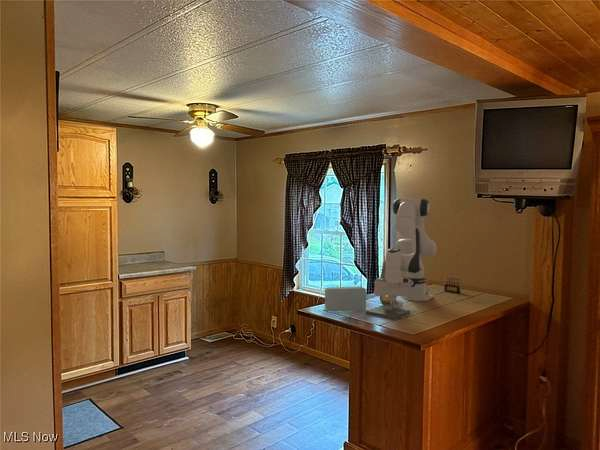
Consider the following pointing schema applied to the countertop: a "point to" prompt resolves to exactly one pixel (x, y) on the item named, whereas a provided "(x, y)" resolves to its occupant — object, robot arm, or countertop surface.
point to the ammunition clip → (452, 284)
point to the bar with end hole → (345, 298)
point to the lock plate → (388, 312)
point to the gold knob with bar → (386, 300)
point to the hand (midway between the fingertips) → (392, 304)
